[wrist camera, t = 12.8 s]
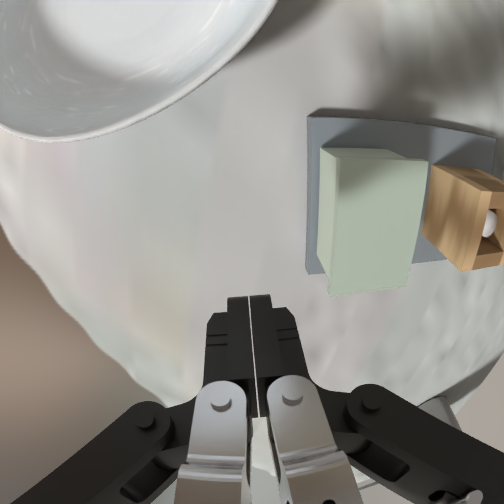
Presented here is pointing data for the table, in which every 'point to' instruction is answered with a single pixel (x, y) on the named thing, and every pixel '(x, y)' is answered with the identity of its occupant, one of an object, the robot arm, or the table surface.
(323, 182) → the block
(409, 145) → the board
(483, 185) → the sleeve
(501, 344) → the table surface
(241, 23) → the serving bowl
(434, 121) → the table surface
